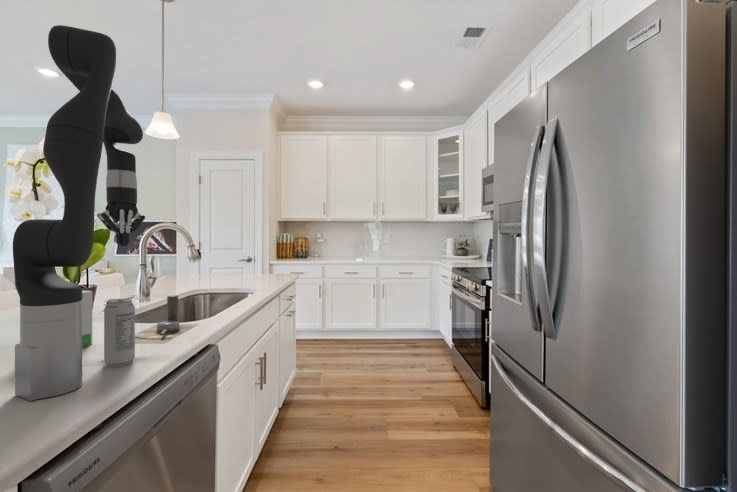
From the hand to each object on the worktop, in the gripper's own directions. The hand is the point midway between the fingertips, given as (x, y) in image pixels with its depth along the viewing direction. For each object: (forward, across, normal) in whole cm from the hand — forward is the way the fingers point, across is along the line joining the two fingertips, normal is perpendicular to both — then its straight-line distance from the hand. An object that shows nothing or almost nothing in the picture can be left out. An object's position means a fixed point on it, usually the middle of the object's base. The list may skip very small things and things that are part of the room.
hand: (122, 246), depth 109 cm
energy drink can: (+28, -14, -22) cm, 38 cm away
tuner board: (+27, +6, -8) cm, 29 cm away
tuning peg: (+26, +8, -8) cm, 29 cm away
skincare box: (+27, -15, -2) cm, 31 cm away
